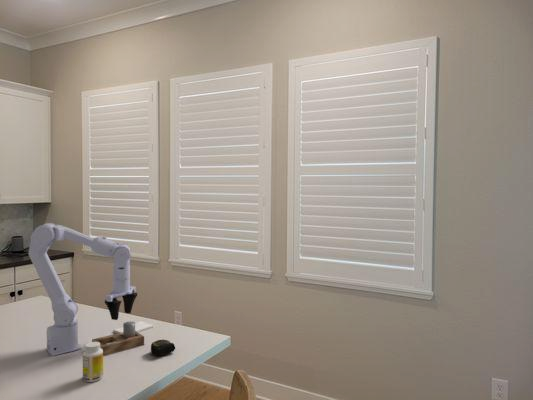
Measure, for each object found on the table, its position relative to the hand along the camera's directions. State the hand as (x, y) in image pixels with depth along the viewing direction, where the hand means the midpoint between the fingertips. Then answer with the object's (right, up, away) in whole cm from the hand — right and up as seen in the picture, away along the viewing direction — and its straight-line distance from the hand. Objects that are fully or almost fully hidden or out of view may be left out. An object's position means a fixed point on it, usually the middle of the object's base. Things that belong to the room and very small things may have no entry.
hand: (121, 316), depth 145 cm
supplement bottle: (+1, -11, -26) cm, 28 cm away
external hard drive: (0, -10, +14) cm, 17 cm away
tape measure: (+17, -11, -8) cm, 22 cm away
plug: (+3, -9, -1) cm, 10 cm away
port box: (0, -10, -3) cm, 10 cm away
